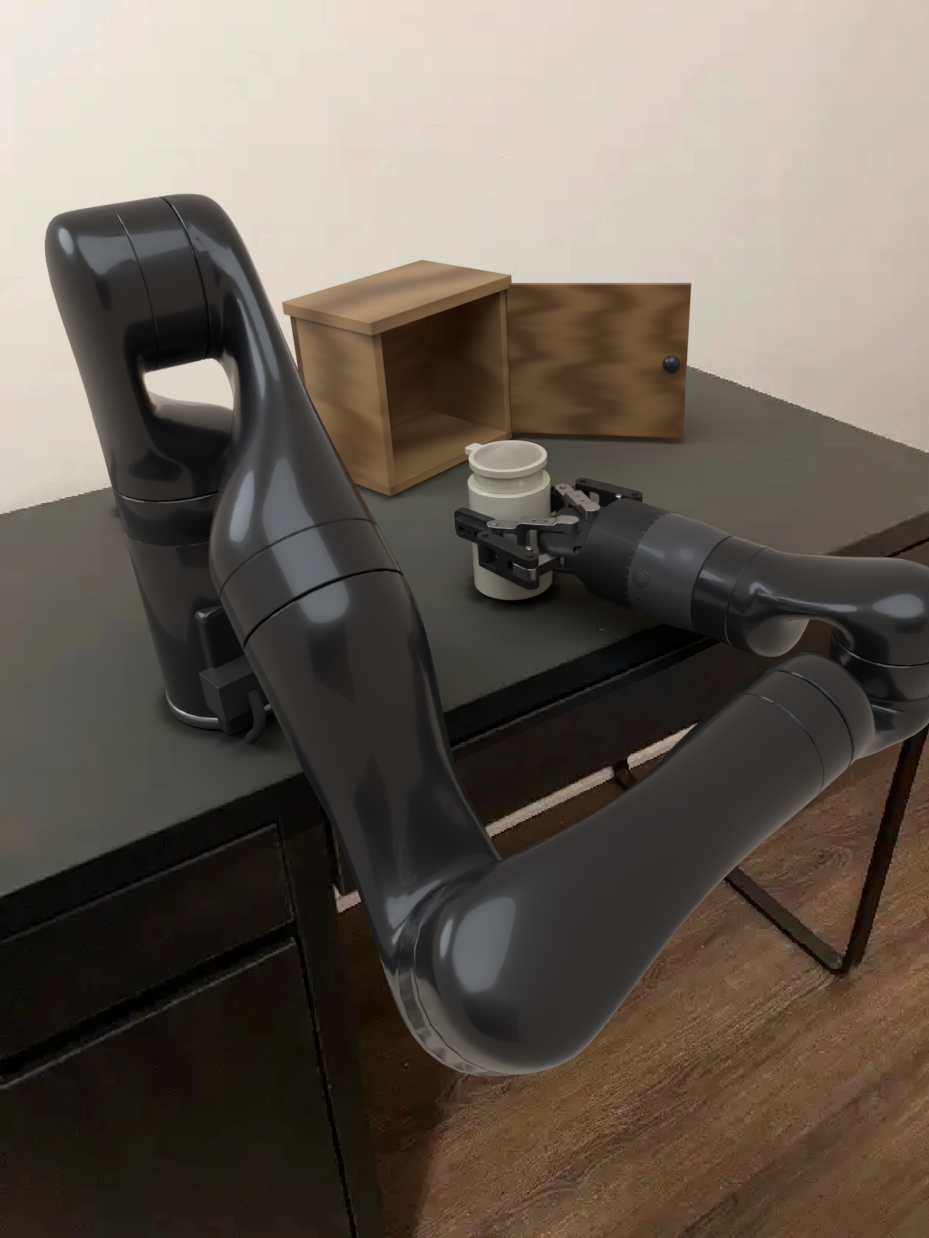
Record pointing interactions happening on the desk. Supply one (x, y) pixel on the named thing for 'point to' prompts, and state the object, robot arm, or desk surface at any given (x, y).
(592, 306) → the cabinet
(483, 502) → the white jar
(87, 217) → the robot arm
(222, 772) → the desk surface
